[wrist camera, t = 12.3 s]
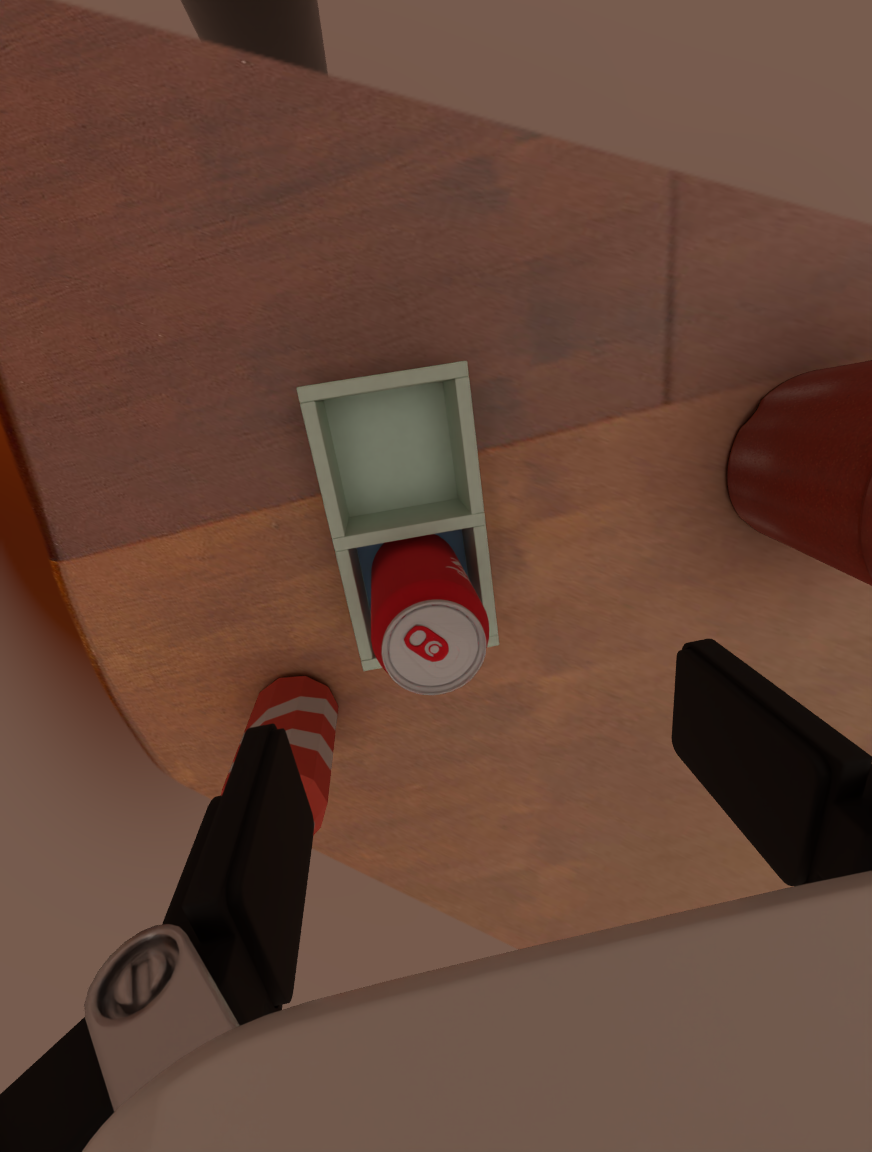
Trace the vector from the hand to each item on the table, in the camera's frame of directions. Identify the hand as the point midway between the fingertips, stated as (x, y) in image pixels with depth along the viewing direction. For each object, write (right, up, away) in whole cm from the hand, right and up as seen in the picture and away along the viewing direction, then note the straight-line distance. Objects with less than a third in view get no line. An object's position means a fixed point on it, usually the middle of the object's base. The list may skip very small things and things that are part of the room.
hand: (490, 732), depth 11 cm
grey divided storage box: (-3, +8, +23) cm, 24 cm away
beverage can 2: (-3, +4, +24) cm, 24 cm away
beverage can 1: (-12, -7, +27) cm, 31 cm away
